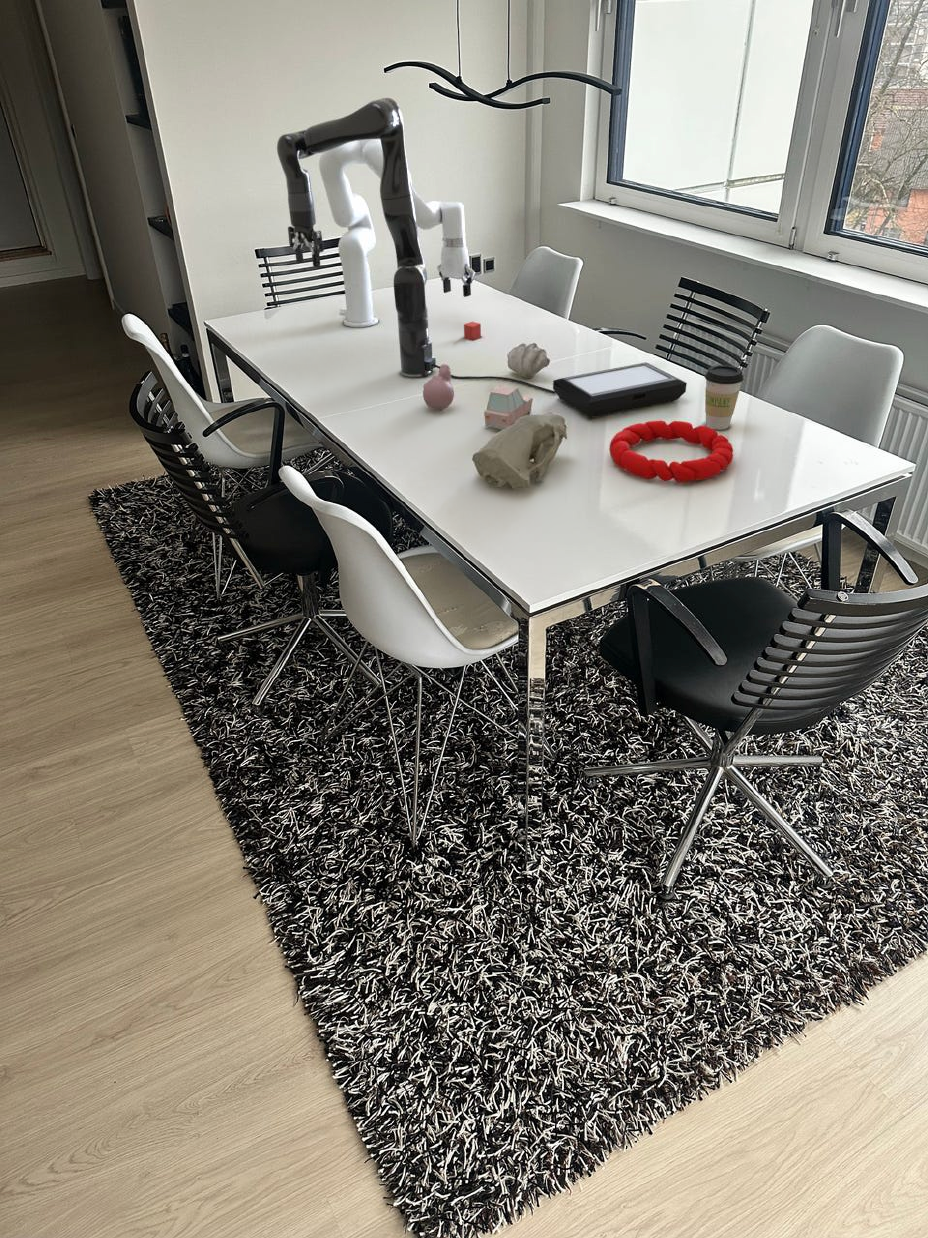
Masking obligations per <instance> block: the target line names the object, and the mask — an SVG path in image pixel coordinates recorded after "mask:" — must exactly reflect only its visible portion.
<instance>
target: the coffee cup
mask: <svg viewBox="0 0 928 1238" xmlns="http://www.w3.org/2000/svg"><path fill="white" fill-rule="evenodd" d="M704 379H705V387H704V388H705V389H704V390H705V392H704V393H705V394H704V395H705V396H704V397H705V399H704V401H705V402H704V403H705V404H704V406H705V408H704V412H705V426H706V427H709V428H711V429H713V430H715V431H717V430H719V431H722V430H727V429H729V428H730V424H731V422H732V421H731V420H732V418H733V415H734V413H735V408H736V404H737V401H738V397H739V394H740V390H741V389H740V387H741V384H742V382H743V381H744V379H745V377H744V374H743V370H742V369H741V368H739V367H738V366H734V365H728V364H717V365H712V366H710V367H708V369H707V372H705V374H704Z"/></svg>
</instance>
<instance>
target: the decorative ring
mask: <svg viewBox="0 0 928 1238" xmlns="http://www.w3.org/2000/svg"><path fill="white" fill-rule="evenodd" d="M657 439H662V440H665V441H672V440H678V439H682V440H683V441H685V442H687V443H689V444H692V445H702V447H703V448H704V449H707V450H709V451H710V452H712V453H710V454H709V455H707V456H706V457H702V458H698V459H692V460H691V459H690V460H683V461H681V462H680V463H679V462H678V461H675V460H674V461H671V462H670V463H669V465H668V463H667V461H665V460H663V459H654V458H652V459H648V458H647V456H646V455H642V454H639V453H638V452H637V451H634V450H631V447H634V446H636V445H638V444H639V443H641V441H642V442H652V441H654V440H657ZM733 453H734V448H733V445H732V444H731V442H729V439H728V438H727V437H726V436H725V435H722V434H719V432H718V431H717V430H716V429H711V428H709V427H707V426H706V425H697V426H696V427H693V424H692V423H691V422H688V421H682V420H673V421H671V422H669V424H668V423H667V422H666V421H665V420H659V419H658V420H649V421H646V422H645V423H642V422H639V423H638V422H637V423H634V424H631V425H629V426H627V427H624V428H623V429H622V430H620V431H618V432H617V433H615V434H614V436H613V437H612V438H611V441H610V443H609V454H610V458H611V460H612V461H613V462H614V464H615V465H616V466H618V467H619V468H620V469H621V470H624V471H626V472H627V473H628V474H631V475H633V476H636V477H639V478H642V479H646V480H652V479H655V478H656V477H658V479H660V480H661V481H662V482H669V481H670V480H674V481H675V483H690V482H691V483H692V482H696V481H698V480H700V481H703V480H704V481H705V480H707V479H711V478H713V477H715V476H718V475H719V474H720V473H721V472H723V471H725V470H726V469H727V468H728V466H729V465H731V464H732V462H733V459H734V454H733Z"/></svg>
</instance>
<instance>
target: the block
mask: <svg viewBox="0 0 928 1238" xmlns="http://www.w3.org/2000/svg"><path fill="white" fill-rule="evenodd" d="M481 328H482V325H481V323H478V322H474V321H470V322H466V323H464V324H463V339H466V340H470V341H474V340H477V339H480V338H481V337H482V329H481Z"/></svg>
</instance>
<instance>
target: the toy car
mask: <svg viewBox="0 0 928 1238" xmlns="http://www.w3.org/2000/svg"><path fill="white" fill-rule="evenodd" d="M533 399H534V398H533V397H531V396H525V395H522V393H521V392H520V390H519V388H517V387H512V386H506V385H499V386H498V387H496V388H494V389H493V390H491V391H490V393H489V397H488V402H487V406H486V409H485V410H484V411H483V415H484V424H485V427H489V428H492V429H493V428H494V429H499V430H503V429H505V428H507V427H509V426H511V425H513V424H514V423H515V422H516V421H517V420H518V419H519V418H520V417H523V416H527V415H532V414H531V413H532V406H533Z"/></svg>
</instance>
